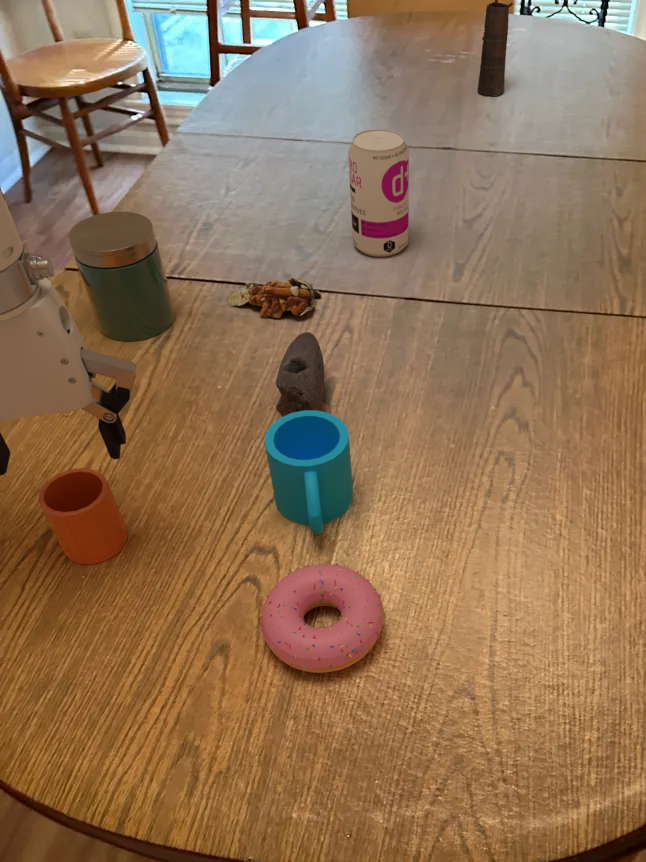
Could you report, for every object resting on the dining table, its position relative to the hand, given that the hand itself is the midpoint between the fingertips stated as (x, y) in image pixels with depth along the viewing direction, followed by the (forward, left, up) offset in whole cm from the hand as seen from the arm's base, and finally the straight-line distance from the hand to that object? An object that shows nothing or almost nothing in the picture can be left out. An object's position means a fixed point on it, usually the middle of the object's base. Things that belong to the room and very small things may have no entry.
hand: (61, 456), depth 69 cm
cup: (0, 0, -11) cm, 11 cm away
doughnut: (+21, -15, -12) cm, 28 cm away
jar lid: (+3, +39, 0) cm, 39 cm away
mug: (+22, 0, -12) cm, 25 cm away
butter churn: (+71, +107, -12) cm, 129 cm away
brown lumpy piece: (+21, +39, -12) cm, 46 cm away
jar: (+3, +39, -11) cm, 41 cm away
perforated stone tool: (+23, +18, -12) cm, 31 cm away
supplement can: (+38, +52, -12) cm, 65 cm away
